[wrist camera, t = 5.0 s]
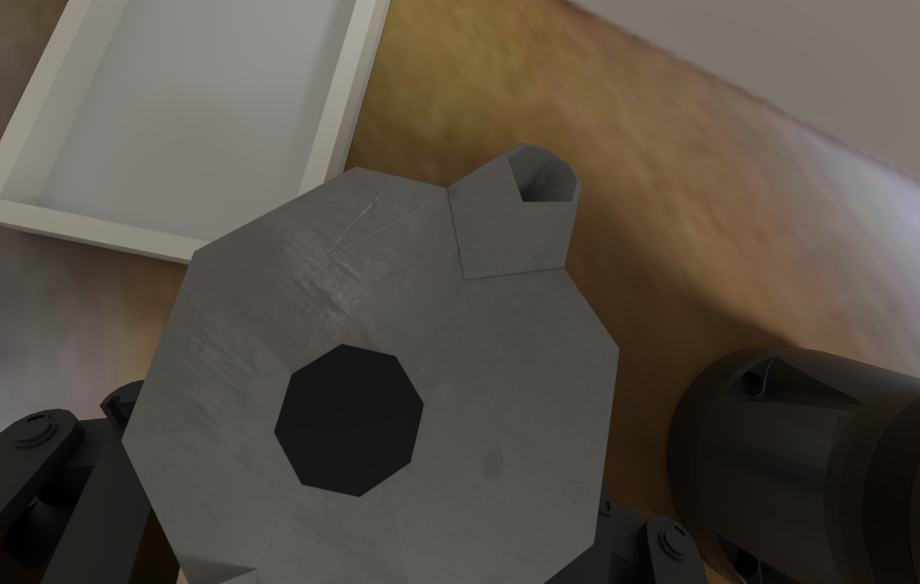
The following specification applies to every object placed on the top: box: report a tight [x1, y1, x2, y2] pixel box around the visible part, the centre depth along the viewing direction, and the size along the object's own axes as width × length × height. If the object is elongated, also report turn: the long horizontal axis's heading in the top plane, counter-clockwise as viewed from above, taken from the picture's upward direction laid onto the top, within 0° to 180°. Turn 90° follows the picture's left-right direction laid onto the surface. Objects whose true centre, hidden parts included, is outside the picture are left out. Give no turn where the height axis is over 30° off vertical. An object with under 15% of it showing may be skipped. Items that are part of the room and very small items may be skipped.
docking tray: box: [0, 0, 391, 265], centre depth 22 cm, size 17×25×2 cm
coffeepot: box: [121, 144, 620, 584], centre depth 12 cm, size 15×9×18 cm, turn 145°
